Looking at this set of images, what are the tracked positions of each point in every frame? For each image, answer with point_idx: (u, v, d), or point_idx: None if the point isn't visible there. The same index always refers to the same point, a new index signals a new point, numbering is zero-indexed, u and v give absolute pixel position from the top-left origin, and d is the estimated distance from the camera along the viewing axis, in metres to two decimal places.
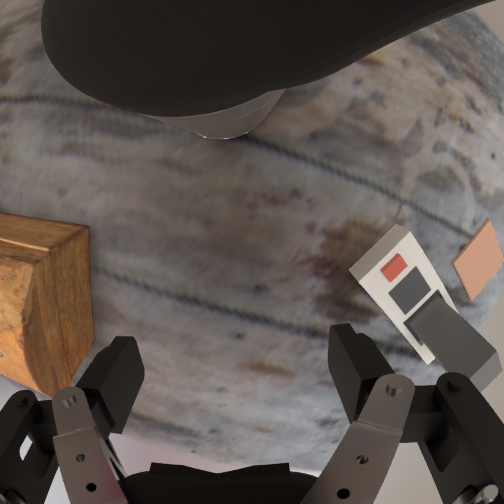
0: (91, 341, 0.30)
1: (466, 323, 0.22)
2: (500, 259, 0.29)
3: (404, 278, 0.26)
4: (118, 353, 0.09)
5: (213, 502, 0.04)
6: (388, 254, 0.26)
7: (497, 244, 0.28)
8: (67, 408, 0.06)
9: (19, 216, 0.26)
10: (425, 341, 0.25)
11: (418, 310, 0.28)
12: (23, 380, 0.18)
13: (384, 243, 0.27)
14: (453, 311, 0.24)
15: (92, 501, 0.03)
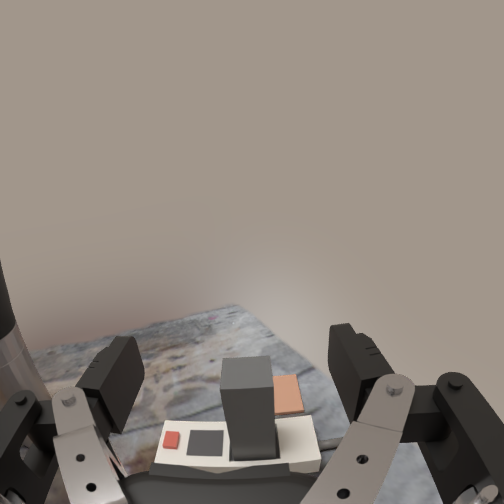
0: None
1: None
2: (289, 377, 0.42)
3: (189, 440, 0.28)
4: (118, 353, 0.09)
5: (213, 502, 0.04)
6: (161, 438, 0.28)
7: None
8: (67, 408, 0.06)
9: None
10: (229, 437, 0.25)
11: None
12: None
13: None
14: None
15: (92, 502, 0.03)
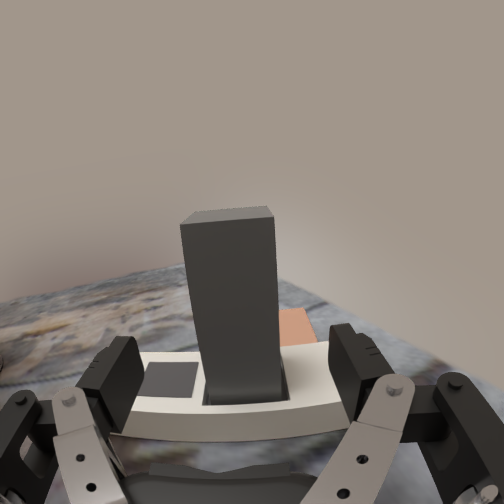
0: None
1: None
2: (295, 311, 0.33)
3: (144, 375, 0.19)
4: (118, 353, 0.09)
5: (213, 502, 0.04)
6: None
7: None
8: (67, 408, 0.06)
9: None
10: None
11: None
12: None
13: None
14: None
15: (91, 501, 0.03)
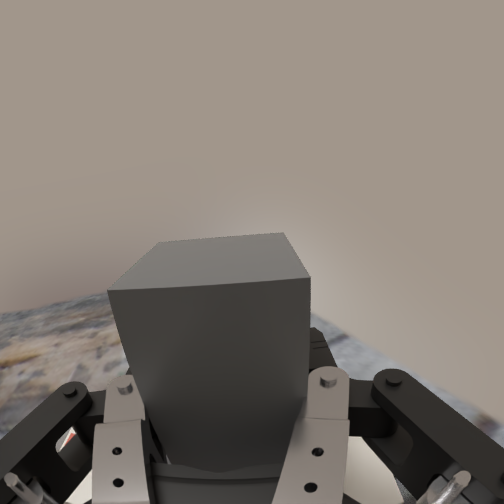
0: None
1: None
2: None
3: None
4: None
5: (213, 502, 0.04)
6: (63, 445, 0.12)
7: None
8: (126, 396, 0.07)
9: None
10: None
11: None
12: None
13: None
14: None
15: (113, 497, 0.03)
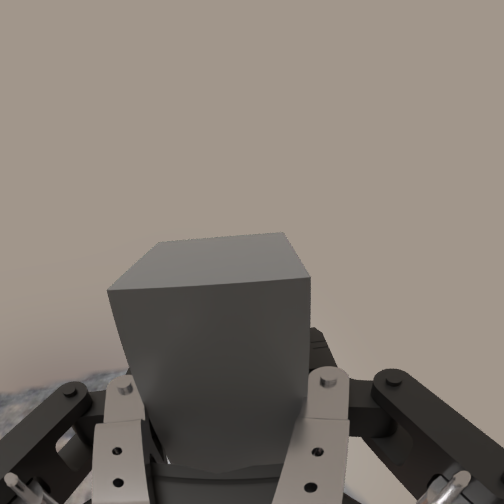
0: None
1: None
2: None
3: None
4: None
5: (213, 502, 0.04)
6: None
7: None
8: (126, 396, 0.07)
9: None
10: None
11: None
12: None
13: None
14: None
15: (113, 497, 0.03)
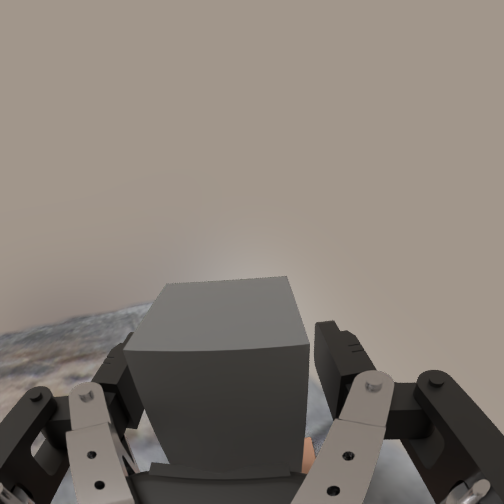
0: None
1: None
2: None
3: None
4: None
5: (213, 502, 0.04)
6: None
7: None
8: (85, 403, 0.07)
9: None
10: None
11: None
12: None
13: None
14: None
15: (98, 499, 0.03)
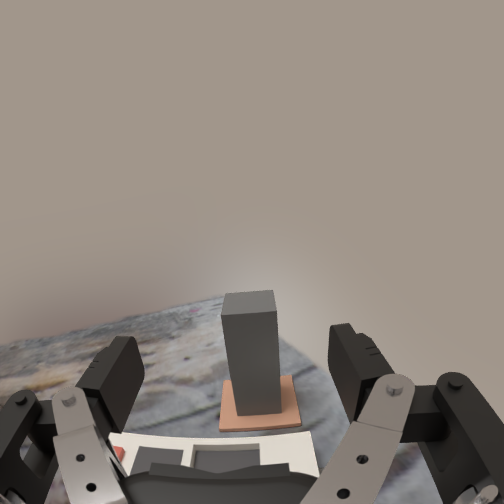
0: None
1: None
2: (283, 379, 0.32)
3: (135, 460, 0.18)
4: (118, 353, 0.09)
5: (213, 502, 0.04)
6: None
7: None
8: (67, 408, 0.06)
9: None
10: (231, 381, 0.25)
11: None
12: None
13: None
14: None
15: (92, 501, 0.03)
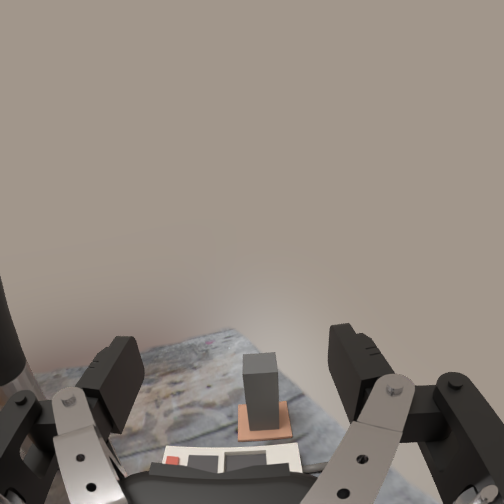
0: None
1: None
2: (280, 404, 0.44)
3: (188, 464, 0.30)
4: (118, 353, 0.09)
5: (213, 502, 0.04)
6: (163, 462, 0.30)
7: None
8: (67, 408, 0.06)
9: None
10: None
11: None
12: None
13: None
14: None
15: (91, 501, 0.03)
